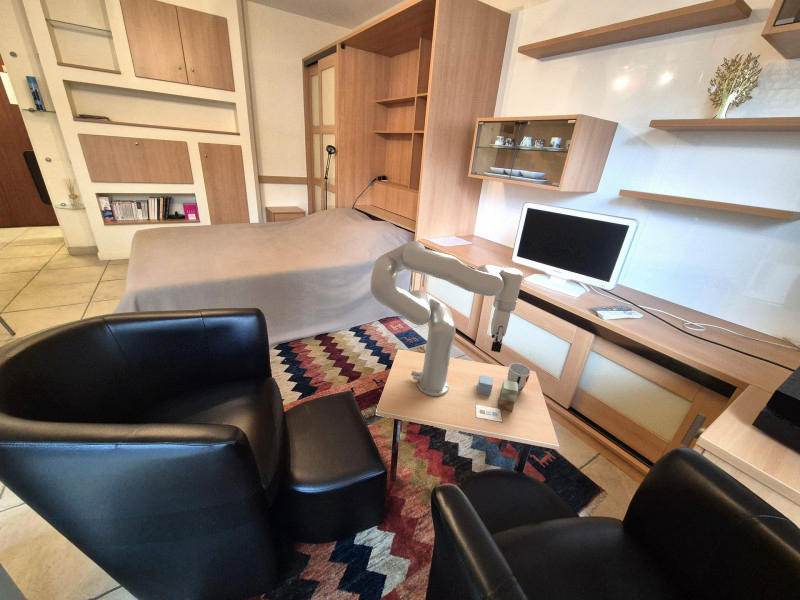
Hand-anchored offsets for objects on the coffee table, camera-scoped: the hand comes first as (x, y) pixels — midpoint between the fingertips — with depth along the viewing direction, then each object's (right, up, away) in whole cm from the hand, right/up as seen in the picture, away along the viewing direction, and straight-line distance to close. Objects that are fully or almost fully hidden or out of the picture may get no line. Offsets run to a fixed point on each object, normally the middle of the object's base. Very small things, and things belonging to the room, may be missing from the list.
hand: (495, 344), depth 123 cm
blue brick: (-2, -19, +9) cm, 22 cm away
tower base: (+4, -24, +1) cm, 24 cm away
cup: (+11, -20, +11) cm, 25 cm away
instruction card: (-3, -25, -3) cm, 25 cm away
